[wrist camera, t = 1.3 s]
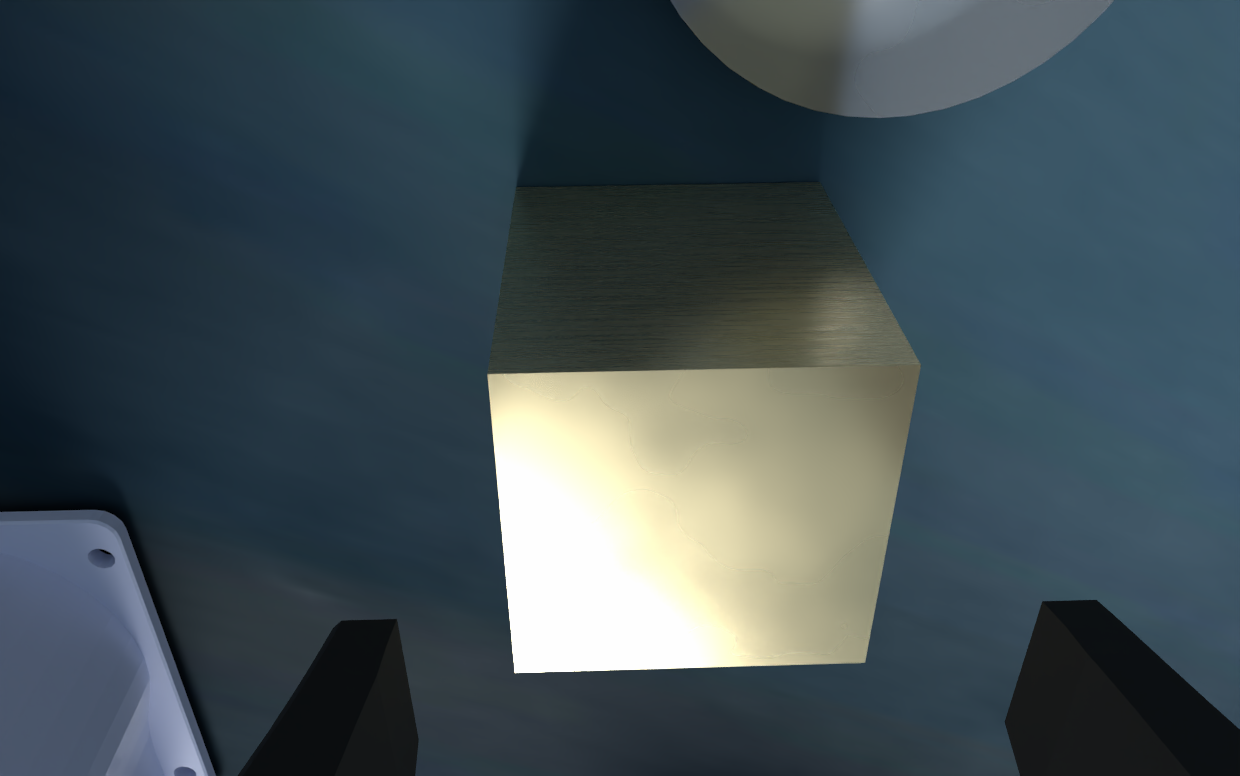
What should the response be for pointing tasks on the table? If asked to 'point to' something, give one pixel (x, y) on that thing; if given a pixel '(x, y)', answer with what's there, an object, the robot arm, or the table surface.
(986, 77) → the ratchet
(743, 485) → the brushed metal cube
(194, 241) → the table surface
